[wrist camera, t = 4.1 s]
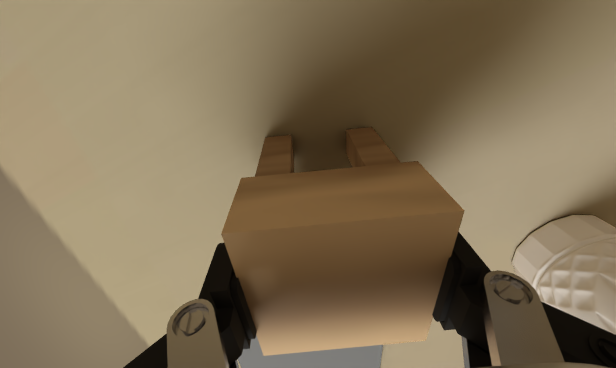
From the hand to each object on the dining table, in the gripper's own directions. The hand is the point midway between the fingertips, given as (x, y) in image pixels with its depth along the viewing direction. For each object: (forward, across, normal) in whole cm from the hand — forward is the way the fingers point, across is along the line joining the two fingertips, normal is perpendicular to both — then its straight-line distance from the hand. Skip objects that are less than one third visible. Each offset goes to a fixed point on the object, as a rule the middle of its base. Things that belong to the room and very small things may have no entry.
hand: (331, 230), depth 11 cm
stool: (+5, 0, 0) cm, 5 cm away
